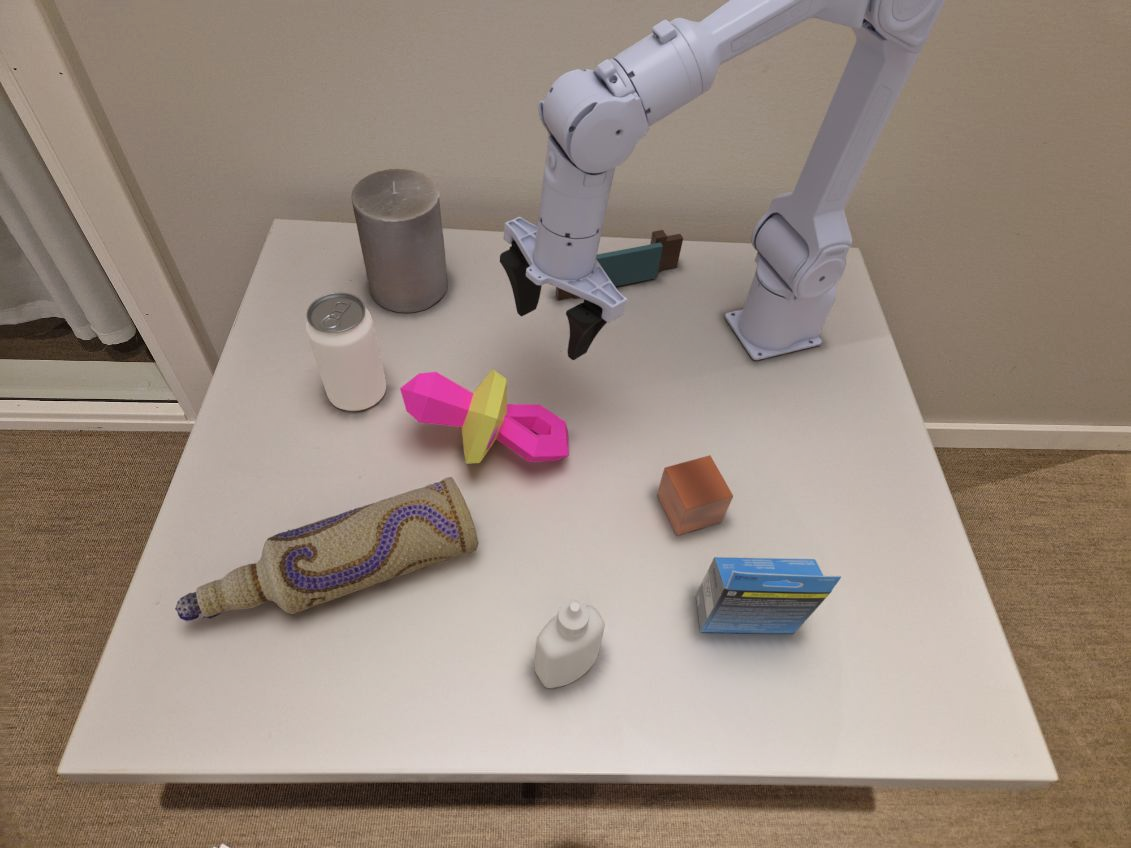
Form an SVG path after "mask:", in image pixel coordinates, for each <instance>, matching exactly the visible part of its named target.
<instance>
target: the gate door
mask: <svg viewBox="0 0 1131 848" xmlns="http://www.w3.org/2000/svg"><path fill="white" fill-rule="evenodd" d="M662 249H663V245H662V244H661V243H655V244H650V243H649V244H646V245H639V246H635V247H629V248H625V249H618V250H614V251H608V252H604V253H597V256H596V259H597V261H598V262H599V264H600V265H601V267H602V268H603V270H604V271H605V273H606V274H607V276H608V277H609V279H610V280H611V282H612V283H613V285H614V286H615V287H619V286H625V285H629V284H634V283H639V282H645V281H648V280H649V281H650V280H653V279H657V278H658V274H659V272H658V270H659V264H660V259H661V254H662Z"/></svg>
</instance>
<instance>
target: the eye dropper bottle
mask: <svg viewBox="0 0 1131 848" xmlns="http://www.w3.org/2000/svg"><path fill="white" fill-rule="evenodd" d="M605 627H606V624H605V620H604V618H603V617H602V615H601V613H600V612H599V610H597V608H596V607H594V606H593V605H590V604H587V605H586V604H584V602H582V601H580V600H576V599H570V600H566V601H564V602H563V603H562V604H561V605H560V606H559V607H558V610H557V614H556V615H555V616H553V617H552V618H551V619H550V620H549V621H548V622H547V623H546V624H545V625H544V626H543V627H542V628H541V630H540V632H539V633H538V635H537V637H536V641H535V653H534V672H535V674H536V676H537V677H538V680H540V682H541V684H542V685H543V686H544V687H545V688H547V689H555V688H556V689H557V688H560V687H565V686H567V685H569V684H571V683H573V682H576V681H577V680H579V679H580V678H581V677H583V676H585V674H587V673H588V671H589V670H590V669H591V668H592V667H593V665H595V663H596V661H597V660H598V657H599V654H600V650H601V645H602V641H603V638H604V633H605Z"/></svg>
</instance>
